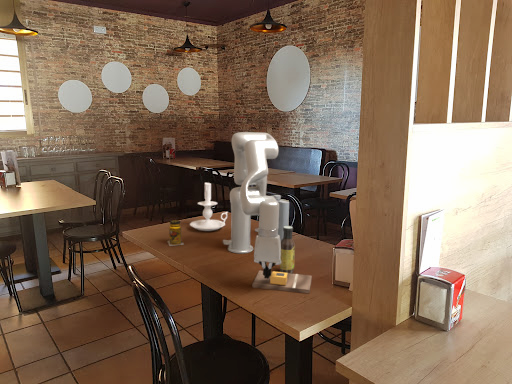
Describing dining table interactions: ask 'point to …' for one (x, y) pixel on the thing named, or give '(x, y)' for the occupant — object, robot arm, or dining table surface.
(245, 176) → the robot arm
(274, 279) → the block
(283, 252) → the sauce bottle
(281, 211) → the flask
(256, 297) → the dining table surface
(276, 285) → the plank
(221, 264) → the dining table surface
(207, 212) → the candlestick
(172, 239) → the condiment
